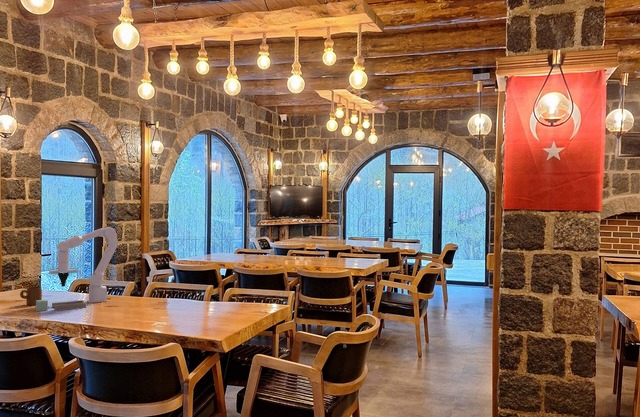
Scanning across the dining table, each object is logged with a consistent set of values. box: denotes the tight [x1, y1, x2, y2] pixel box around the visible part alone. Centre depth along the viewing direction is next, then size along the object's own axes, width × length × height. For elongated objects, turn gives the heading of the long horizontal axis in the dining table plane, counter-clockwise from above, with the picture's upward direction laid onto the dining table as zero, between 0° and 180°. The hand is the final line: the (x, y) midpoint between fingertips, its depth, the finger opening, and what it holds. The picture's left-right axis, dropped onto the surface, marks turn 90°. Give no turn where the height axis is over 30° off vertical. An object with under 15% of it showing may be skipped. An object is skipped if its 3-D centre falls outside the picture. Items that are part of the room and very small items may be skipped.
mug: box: [19, 286, 43, 306], centre depth 299 cm, size 12×8×9 cm, turn 153°
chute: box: [51, 299, 87, 311], centre depth 294 cm, size 16×10×2 cm, turn 125°
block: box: [35, 299, 49, 312], centre depth 286 cm, size 5×5×5 cm
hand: (63, 286), depth 305 cm, fingers closed
